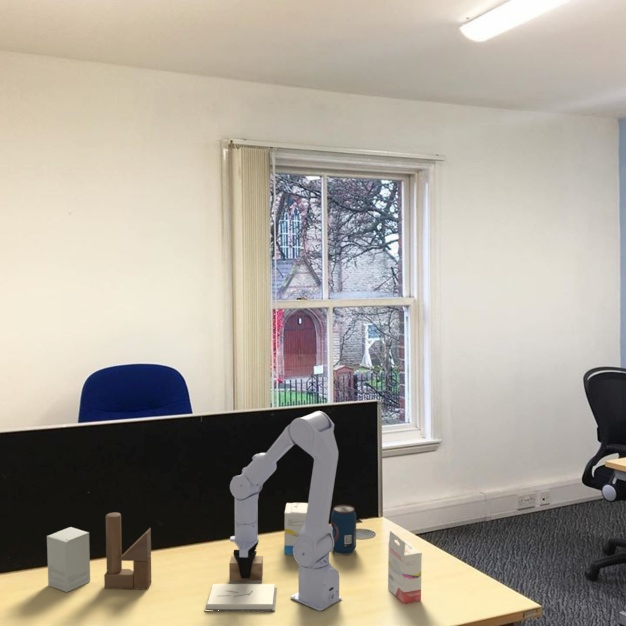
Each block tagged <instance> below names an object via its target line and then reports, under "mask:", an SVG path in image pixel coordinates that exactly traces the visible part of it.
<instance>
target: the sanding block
mask: <svg viewBox="0 0 626 626" xmlns="http://www.w3.org/2000/svg"><path fill="white" fill-rule="evenodd" d="M263 557H264V556H263V555H256V556H255V558H254V560H253V563H252V568H251V574H250V578H241V576H240V571H239V566H238V563H237V561H236V559H235V557H234V555H231V556H230V560H229V565H228V566H229V572H228V573H229V577H228V578H229V584H263V583H262V582H263V576H264V572H263V570H264V559H263Z"/></svg>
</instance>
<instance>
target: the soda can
mask: <svg viewBox="0 0 626 626" xmlns="http://www.w3.org/2000/svg"><path fill="white" fill-rule="evenodd" d="M330 517H331V520H330V525H331V526H332V527H333V531H332V535H333V539H334V547H333V550H332V551H333V552H334V553H335V554H337V555H342V556H344V555H345V556H346V555H351V554H353V553H354V552H355V550H356V548H357V513H356V511H355V507H354V506H352V505H349V504H339V505H335V506H334V507H333V510H332V512H331V514H330Z"/></svg>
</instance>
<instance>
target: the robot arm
mask: <svg viewBox="0 0 626 626" xmlns="http://www.w3.org/2000/svg"><path fill="white" fill-rule="evenodd" d="M334 430H335V423H334V422H333V421H332V419H331V418H330V417H329V415H327V414H326V412H323V411H320V410H317V411H314V412H312V413H310V414H307V415H304V416H302V417H297V418H295V419H293V420H292V421H291V422H290V424H288V425H287V426H286V427H284V430H283V431H282V433H281V434H280V435H279V436H278V437H277V439H276V440H275V441H274V442H273V444H272V445H271V446H270V447H269V449H268V450H267V451H266V452H260V453H256V454H254V455H253V456H252V458H251V459H252V461H251V462H250V463H249V464H248V465H247V466H245V467H243V468H242V470H241V474H240V475H235V476H233V477H232V479H231V481H230V484H229V490H230V493H231V494H232V496H233V497H234V535H232V536H229V537H230V538H229V541H230V542H232V543H234V544H235V546H236V547H237V548H238V549H234V550H233V553H232V554H233V556H234V557H235V559H236V561H237V563H238V566H239V571H240V576H241V578H250V574H251V568H252V563H253V560H254V558H255V556H257V552H258V551H257V550H256V549H257V547H258V545H259V535H258V533H259V532H258V531H259V530H258V529H259V527H258V526H259V525H258V522H259V521H258V515H259V513H258V503H259V501H258V500H259V494H260V492H261V491H262V489H263V485H264V483H265V482H266V481H267V480H268V479H269V478H270V476H272V475H273V474H274V473H275V471H276V470H277V462H278V461H279V460H280V459H281V458H282V457H283V456H284V455H285V454H286V453H287V452H288V451H289V450H290V449H292V447H293V446H294V445H297V446H298V447H299V448H301V449H302V450H303V451H304V452H305V453H307V454H309V456H311V457H312V458H313V465H312V466H313V467H312V474H311V479H310V485H309V493H308V502H307V503H308V507H307V514H306V521H305V524H304V526H303V527H302V529H301V531H300V532H299V536H298V540H297V542H296V543H295V544H294V546H293V554H292V555H293V558H294V560H295V562H296V563H297V566H298V591H297V592H296V593H294V594H292V595H290V598H291V599H292V600H294V601H296V602H298V603H301V604H303V605H305V606H308V607H310V608H311V609H315V610H316V611H319V612H320V611H323V610H325V609H326V608H328V607H330V606H332V605H334V604H335V603H337V602H339V601H340V600H342V596H340V573H339V571H338V570H337V569H336V568H335V567H334V566H332V564H331V563H330V553H331V552H332V551H333V547H334V539H333V535H332V531H333V527H332V526H331V523H330V524H329V520H330V516H331V514H330V513H331V507H332V500H333V493H334V487H335V479H336V474H337V466H338V461H339V449H338V445H337V441H336V437H335V433H334Z"/></svg>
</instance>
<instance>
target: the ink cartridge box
mask: <svg viewBox="0 0 626 626" xmlns="http://www.w3.org/2000/svg"><path fill="white" fill-rule="evenodd" d="M388 537H389V539H388V562H387V563H388V565H387V566H388V568H387V570H388V571H387V589H388V590H389V591H390V592H391V593H392V594H393V595H394V596H395V597H396V598H397V599H398V600H400V602H401V603H402V604H411V603H414V602H421V601H422V554H423V553H422V552H421V551H420V550H419V549H418V548H417V547H414V545H412V544H411V543H410V542H409V541H408V540H406V539H401V538H400V537H399V536H398V535H397V534H395V533H394V532H393V531H392V530H390V531H389V536H388Z"/></svg>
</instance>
